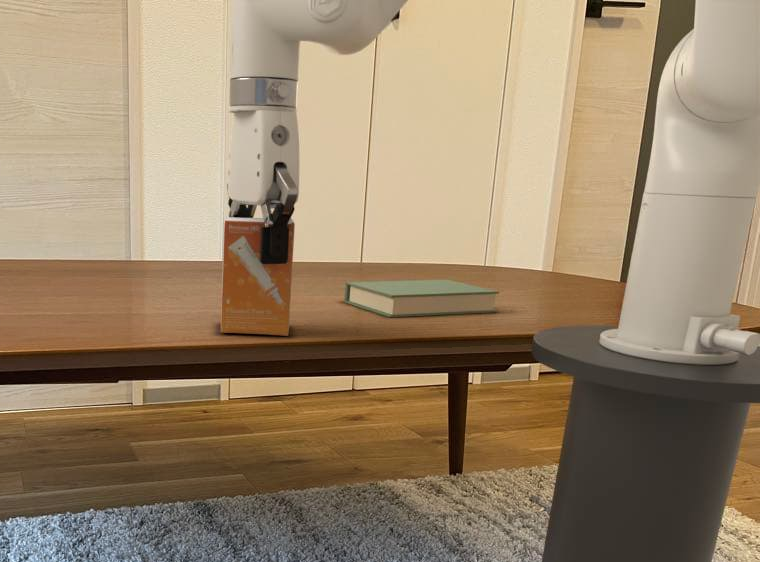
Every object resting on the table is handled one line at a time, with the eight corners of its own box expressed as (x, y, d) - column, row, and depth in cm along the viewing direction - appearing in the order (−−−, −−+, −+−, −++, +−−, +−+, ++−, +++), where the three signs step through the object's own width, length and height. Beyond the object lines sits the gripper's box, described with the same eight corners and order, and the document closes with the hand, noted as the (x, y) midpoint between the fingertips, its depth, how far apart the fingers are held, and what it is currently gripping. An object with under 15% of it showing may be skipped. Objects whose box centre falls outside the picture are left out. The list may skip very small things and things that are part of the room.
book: (496, 312, 111) (499, 291, 110) (389, 317, 104) (392, 295, 104) (443, 298, 122) (445, 279, 121) (344, 302, 115) (345, 282, 114)
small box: (220, 334, 90) (222, 219, 87) (222, 323, 96) (224, 216, 93) (289, 336, 90) (295, 221, 86) (287, 325, 96) (292, 217, 92)
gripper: (332, 95, 79) (321, 267, 84) (260, 105, 95) (255, 250, 100) (265, 91, 77) (258, 269, 82) (203, 102, 92) (200, 251, 97)
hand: (257, 258), depth 91 cm, fingers closed on small box, 8 cm apart
